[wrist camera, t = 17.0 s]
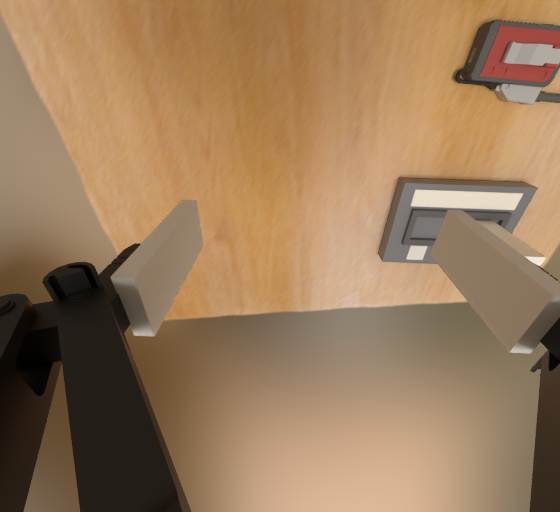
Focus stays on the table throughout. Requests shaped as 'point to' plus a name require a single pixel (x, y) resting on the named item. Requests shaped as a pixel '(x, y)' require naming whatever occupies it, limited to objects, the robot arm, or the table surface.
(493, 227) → the lever
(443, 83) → the table surface
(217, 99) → the table surface
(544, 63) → the walkie-talkie
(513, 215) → the switch box
